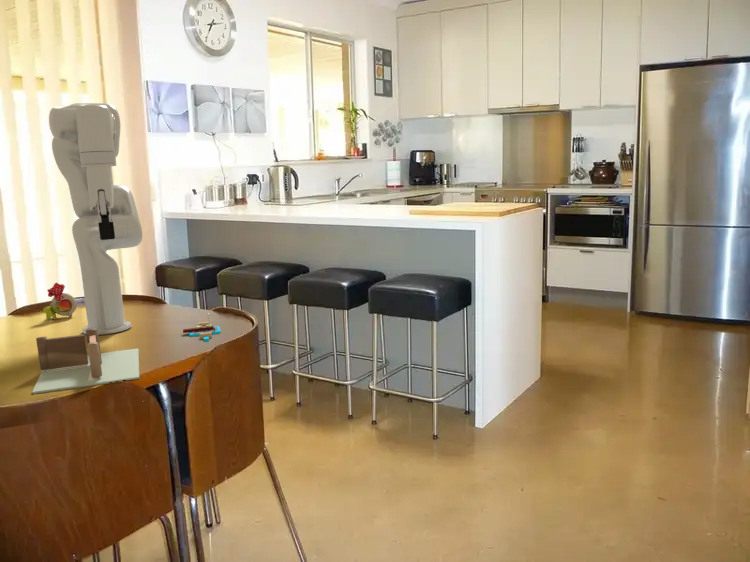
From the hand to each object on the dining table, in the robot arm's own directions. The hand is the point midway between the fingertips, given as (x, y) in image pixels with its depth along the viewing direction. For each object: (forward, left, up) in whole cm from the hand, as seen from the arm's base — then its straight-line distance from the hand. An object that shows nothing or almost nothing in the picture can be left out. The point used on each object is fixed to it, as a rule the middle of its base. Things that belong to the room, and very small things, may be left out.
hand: (107, 239), depth 157 cm
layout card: (+15, -6, -27) cm, 31 cm away
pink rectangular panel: (+19, -5, -26) cm, 33 cm away
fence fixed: (+12, -10, -27) cm, 31 cm away
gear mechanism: (-8, +20, -28) cm, 35 cm away
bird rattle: (-53, -18, -27) cm, 62 cm away
